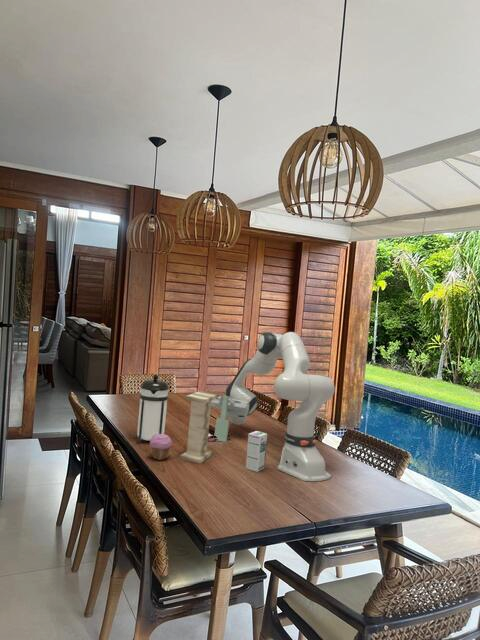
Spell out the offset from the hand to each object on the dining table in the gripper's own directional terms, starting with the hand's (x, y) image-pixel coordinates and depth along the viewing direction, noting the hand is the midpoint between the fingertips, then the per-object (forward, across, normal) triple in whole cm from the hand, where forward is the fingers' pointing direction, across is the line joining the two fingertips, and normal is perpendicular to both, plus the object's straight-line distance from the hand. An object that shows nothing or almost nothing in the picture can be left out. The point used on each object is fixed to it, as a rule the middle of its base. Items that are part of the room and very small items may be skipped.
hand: (224, 398), depth 228 cm
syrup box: (+14, +26, +31) cm, 43 cm away
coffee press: (+6, -27, +27) cm, 39 cm away
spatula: (-6, 0, +8) cm, 10 cm away
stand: (+14, 0, +32) cm, 35 cm away
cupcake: (+23, -12, +37) cm, 45 cm away
